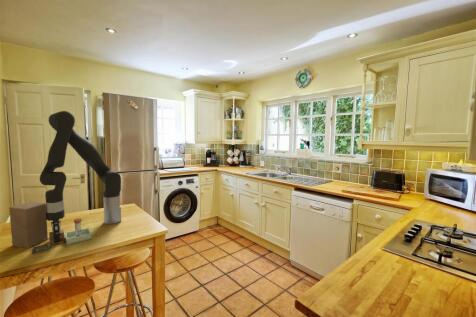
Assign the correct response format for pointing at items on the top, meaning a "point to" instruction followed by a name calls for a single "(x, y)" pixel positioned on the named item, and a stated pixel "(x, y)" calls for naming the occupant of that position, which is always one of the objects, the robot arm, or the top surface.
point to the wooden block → (28, 224)
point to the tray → (72, 238)
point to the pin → (77, 227)
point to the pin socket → (41, 249)
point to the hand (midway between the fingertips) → (56, 240)
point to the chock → (51, 237)
